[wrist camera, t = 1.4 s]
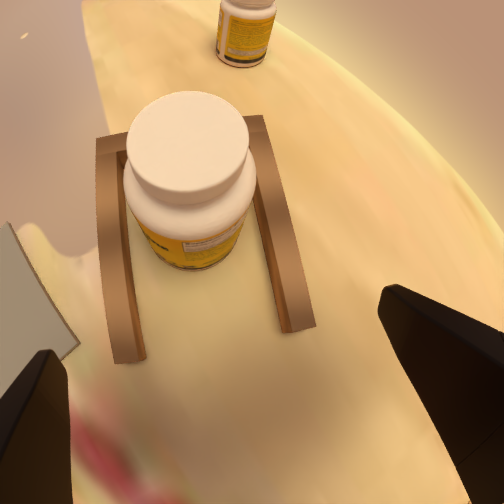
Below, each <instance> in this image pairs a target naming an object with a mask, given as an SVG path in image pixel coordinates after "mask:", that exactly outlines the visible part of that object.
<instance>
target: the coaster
mask: <svg viewBox="0 0 504 504" xmlns="http://www.w3.org/2000/svg"><path fill="white" fill-rule="evenodd" d="M79 344H80V342H79V341H78V339H77V338H76V336H75V335H74V333H73V332H72V330H71V329H70V328H69V326H68V325H67V323H66V322H65V320H64V319H63V317H62V315H61V314H60V312H59V311H58V309H57V308H56V306H55V305H54V303H53V301H52V300H51V298H50V296H49V295H48V293H47V291H46V290H45V288H44V286H43V285H42V283H41V281H40V280H39V278H38V276H37V274H36V272H35V271H34V269H33V267H32V265H31V263H30V262H29V260H28V258H27V256H26V254H25V252H24V250H23V248H22V246H21V244H20V242H19V240H18V238H17V236H16V234H15V232H14V230H13V228H12V226H11V224H10V223H8V222H6V223H5V224H4V225H3V226H2V227H1V228H0V398H1V397H2V396H3V394H4V393H5V392H6V390H7V389H8V388H9V386H10V385H11V384H12V382H13V381H14V380H15V379H16V377H17V376H18V375H19V374H20V372H21V371H22V370H23V369H24V367H25V366H26V365H27V364H28V362H29V361H30V360H31V359H32V357H33V356H34V355H35V354H36V353H37V352H38V351H39V350H44V349H52V350H53V351H54V352H55V353H56V355H57V356H58V358H59V359H60V361H61V360H62V359H63V358H65V357H66V356H67V355H68V354H69V353H70V352H71V351H72V350H74V349H75V348H76V347H77V346H78V345H79Z"/></svg>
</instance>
